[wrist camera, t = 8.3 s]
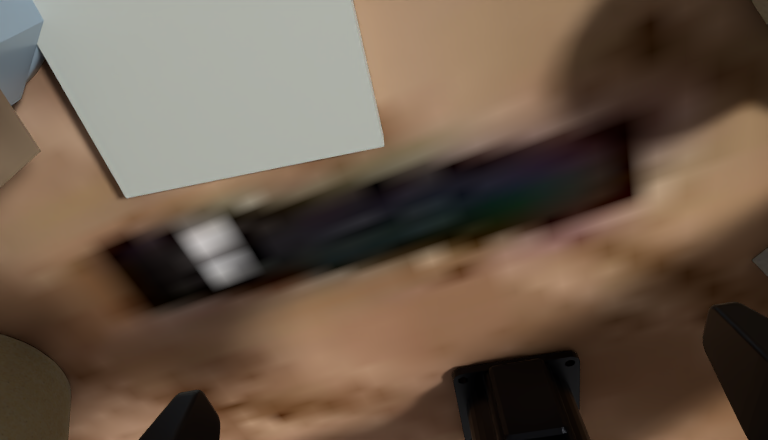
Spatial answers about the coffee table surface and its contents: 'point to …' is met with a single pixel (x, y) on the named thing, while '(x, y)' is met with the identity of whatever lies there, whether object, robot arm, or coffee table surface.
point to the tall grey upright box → (762, 261)
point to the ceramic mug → (762, 8)
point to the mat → (211, 84)
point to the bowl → (18, 46)
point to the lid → (13, 142)
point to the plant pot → (32, 394)
